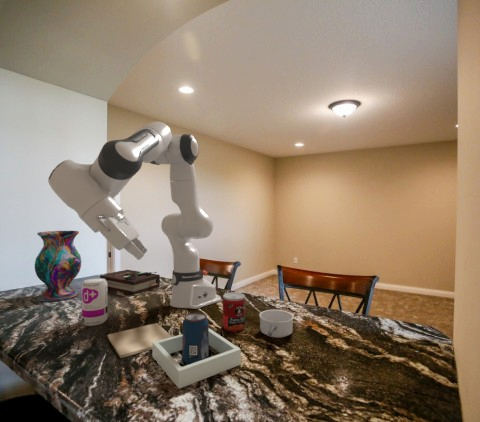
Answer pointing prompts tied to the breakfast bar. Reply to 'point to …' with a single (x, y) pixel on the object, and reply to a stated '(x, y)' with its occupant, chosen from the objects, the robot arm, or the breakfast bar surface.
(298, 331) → the breakfast bar surface
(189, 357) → the soda can
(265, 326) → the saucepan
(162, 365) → the rectangular frame
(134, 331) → the board
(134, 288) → the decorative book
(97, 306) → the supplement can
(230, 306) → the canned food
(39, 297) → the vase
